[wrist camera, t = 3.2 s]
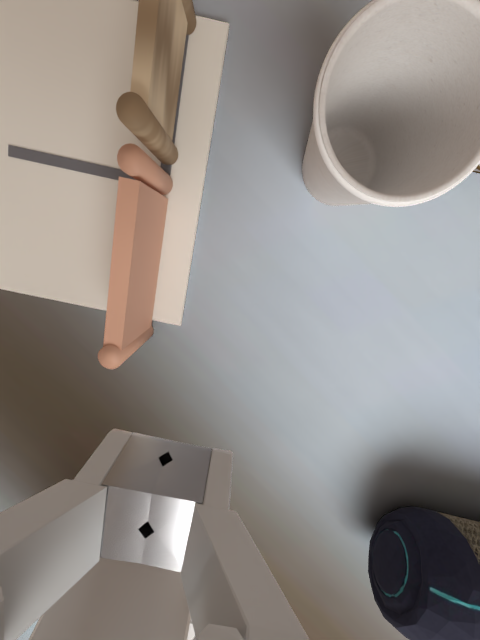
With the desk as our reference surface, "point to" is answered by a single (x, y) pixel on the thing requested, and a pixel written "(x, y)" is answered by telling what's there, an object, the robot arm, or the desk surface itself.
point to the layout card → (91, 148)
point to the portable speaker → (427, 574)
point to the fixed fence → (157, 74)
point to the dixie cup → (397, 105)
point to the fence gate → (134, 255)
